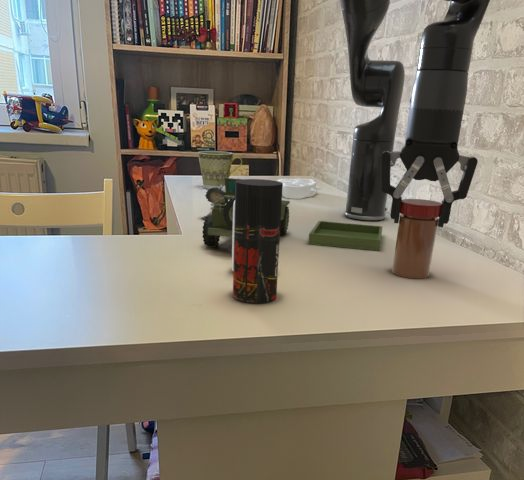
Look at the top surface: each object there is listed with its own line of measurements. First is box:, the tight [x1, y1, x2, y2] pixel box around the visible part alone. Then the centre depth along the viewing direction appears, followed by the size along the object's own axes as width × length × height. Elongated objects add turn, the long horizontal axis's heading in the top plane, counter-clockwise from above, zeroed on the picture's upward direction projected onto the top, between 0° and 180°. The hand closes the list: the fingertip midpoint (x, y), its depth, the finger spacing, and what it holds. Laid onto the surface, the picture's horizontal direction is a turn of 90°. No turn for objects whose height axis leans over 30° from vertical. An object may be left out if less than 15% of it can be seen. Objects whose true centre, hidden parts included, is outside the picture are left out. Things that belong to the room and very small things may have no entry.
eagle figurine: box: [200, 187, 226, 220], centre depth 122 cm, size 8×7×9 cm
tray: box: [308, 220, 384, 252], centre depth 110 cm, size 13×13×2 cm
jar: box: [391, 213, 439, 280], centre depth 88 cm, size 6×6×11 cm
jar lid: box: [400, 198, 442, 218], centre depth 86 cm, size 6×6×2 cm
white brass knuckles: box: [276, 178, 322, 200], centre depth 161 cm, size 3×18×15 cm
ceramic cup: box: [197, 150, 244, 190], centre depth 163 cm, size 13×10×10 cm
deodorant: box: [232, 178, 283, 304], centre depth 73 cm, size 6×6×15 cm
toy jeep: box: [202, 177, 291, 248], centre depth 103 cm, size 12×25×11 cm, turn 168°
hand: (418, 223), depth 87 cm, fingers closed on jar lid, 6 cm apart
